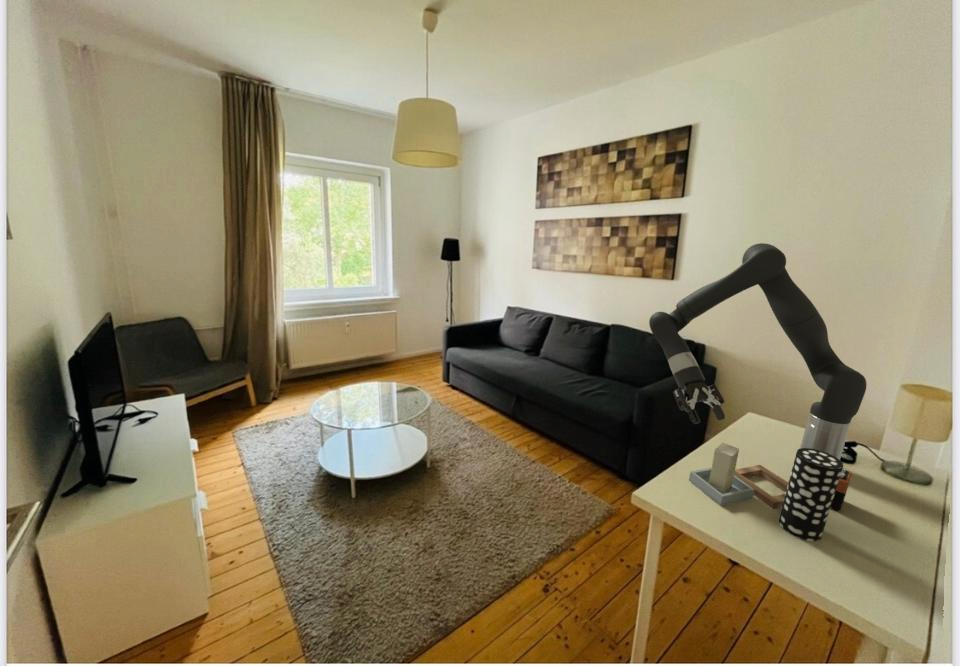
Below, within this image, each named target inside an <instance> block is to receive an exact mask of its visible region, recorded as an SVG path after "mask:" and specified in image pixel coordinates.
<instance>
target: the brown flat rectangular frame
mask: <svg viewBox="0 0 960 666" xmlns="http://www.w3.org/2000/svg"><path fill="white" fill-rule="evenodd" d="M734 475H735V476H736V477H738V478H739V479H741V480H742V481H743V482H745V483H746V484H748V485H749V486H751V487H752V488H753V489H755V491H754V495H753V497H755V498H756V499H758V500H760V501H761V502H762V503H763V504H765V505H766V506H768V507H769V508H770V509H771V510H775V509H778V508H779V509H780V508H782V505H783V501H784V498H785V494H786V490H787V486H788V483H789V481H787V480H785V479H783V478H782V477H780V476H779V475H777V474H776V473H774V472H773V471H771V470H769V469H768V468H766V467H764V466H763V465H761V464H756V465H752V466H751V465H750V466H747V467H746V466H745V467H742V468H735V473H734ZM759 476H760V477H762V478H763V479H764V480H766V481H767V482H769V483H771V484H772V485H773V486H775V487H777V488H779V489H780V490H782V491H783V492H784V493H782V494H779V495H778V494H777V495H772V494H770V493H768V492H767V491H765V490H764V489H762V488H761V487H760V486H758V485H757V484H755V483H754V482H752V480H749V479H748V478H755V477H759Z"/></svg>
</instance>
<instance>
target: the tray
mask: <svg viewBox="0 0 960 666" xmlns="http://www.w3.org/2000/svg"><path fill="white" fill-rule="evenodd" d="M711 468H712V467H707V468H702V469H697V470H692V471H689V478H688V481H689V482H690V483H691V484H693V485H694V486H695V487H696V488H698V489H699V490H700V491H701V492H702V493H704V495H706V496H707V497H709V498H710V500H711V499H712V501H714V503H716V504H717V505H718V506H720V507H723V506H726V505H730V504H736V503H739V502H744V501H750V500H753V499H754V491H755V489H753V488H752V487H751V486H749V485H748V484H746V483H745V482H743V481H742V480H741V479H739V478H738V477H736V476H735V475H734V478H733V482H732V486H731V488H730V489H729V490H728V491H727V492H726V493H725V494H722V493H720V492H719V491H718V490H716V489H715V488H714V487H712V486H711V485H710V484H709V479H710V474H711Z"/></svg>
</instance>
